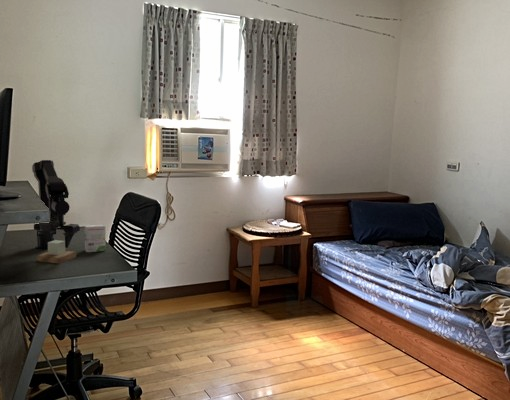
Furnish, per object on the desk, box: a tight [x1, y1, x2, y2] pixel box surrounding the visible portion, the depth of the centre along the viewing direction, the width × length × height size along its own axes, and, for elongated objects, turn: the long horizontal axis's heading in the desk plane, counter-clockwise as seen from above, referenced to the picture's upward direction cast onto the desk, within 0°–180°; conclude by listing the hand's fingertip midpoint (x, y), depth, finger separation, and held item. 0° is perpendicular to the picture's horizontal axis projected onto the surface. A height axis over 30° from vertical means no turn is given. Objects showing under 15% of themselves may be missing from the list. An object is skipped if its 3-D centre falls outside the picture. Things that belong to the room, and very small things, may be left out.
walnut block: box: [36, 250, 77, 264], centre depth 209 cm, size 11×11×3 cm
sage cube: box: [47, 239, 67, 255], centre depth 209 cm, size 5×5×5 cm
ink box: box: [84, 224, 107, 253], centre depth 225 cm, size 8×5×12 cm, turn 119°
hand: (57, 246), depth 209 cm, fingers open, 9 cm apart
